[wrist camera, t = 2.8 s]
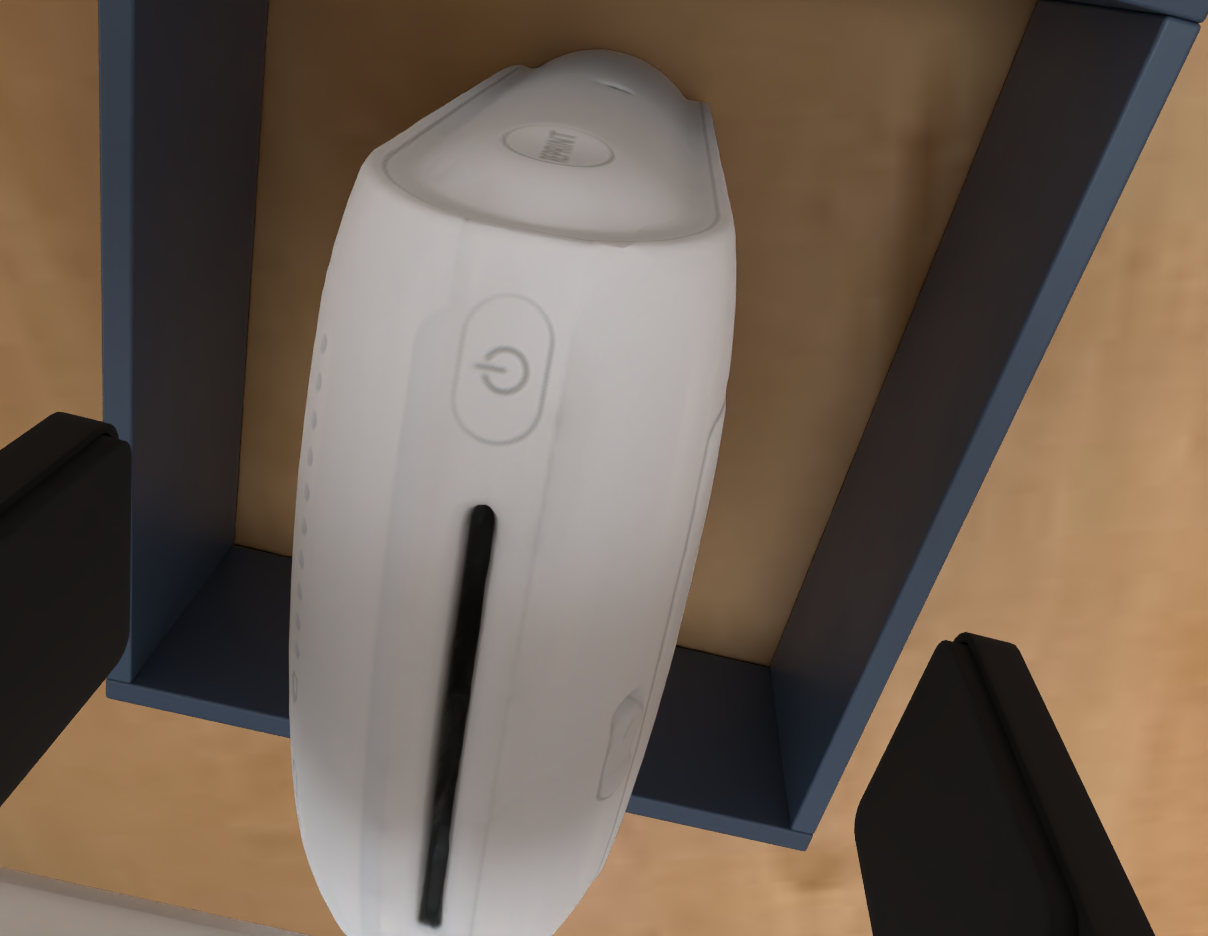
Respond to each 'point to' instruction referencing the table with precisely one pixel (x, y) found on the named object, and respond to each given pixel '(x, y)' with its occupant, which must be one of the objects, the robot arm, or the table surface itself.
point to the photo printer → (504, 491)
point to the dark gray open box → (866, 501)
